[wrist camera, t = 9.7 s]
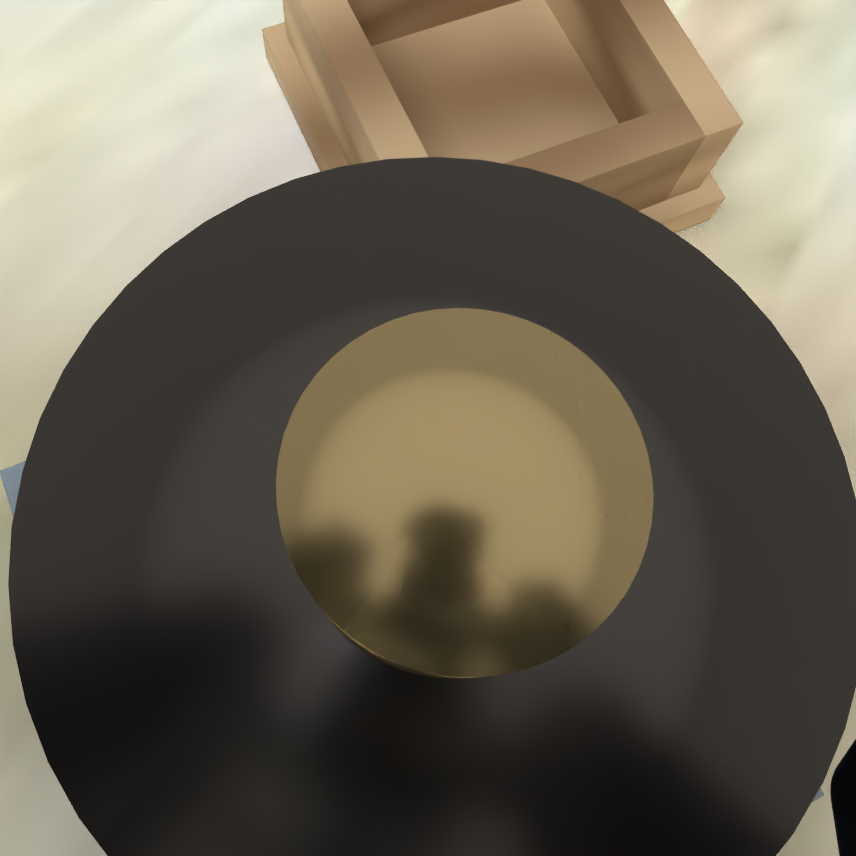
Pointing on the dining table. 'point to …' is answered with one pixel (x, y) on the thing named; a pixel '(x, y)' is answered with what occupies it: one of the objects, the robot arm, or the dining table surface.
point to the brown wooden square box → (512, 92)
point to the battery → (435, 537)
